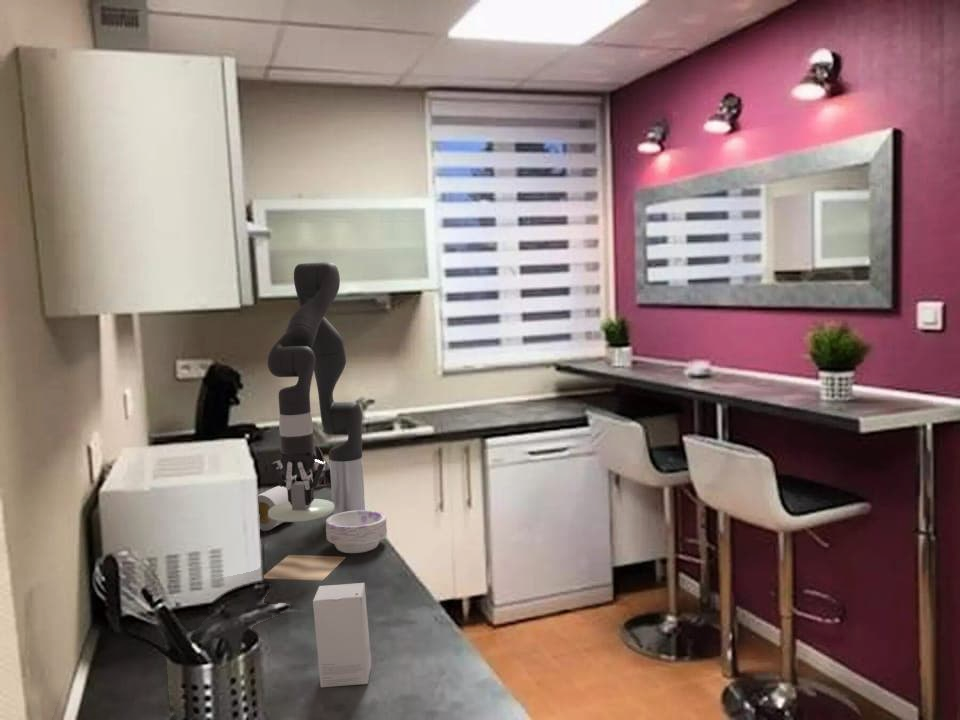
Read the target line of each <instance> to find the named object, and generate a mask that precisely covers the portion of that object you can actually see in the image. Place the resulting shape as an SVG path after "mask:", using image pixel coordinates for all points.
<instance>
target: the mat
mask: <svg viewBox="0 0 960 720" xmlns="http://www.w3.org/2000/svg"><path fill="white" fill-rule="evenodd" d="M346 558H347V557H346V556H335V555H334V556H332V555H331V556H329V555H327V556H326V555H301V554H300V555H299V554H288V555H287V556H286V557H284V558H283V559H282V560H280V562H278V563H277V564H276V565H274V566H273V568H271V569H269V570H268V571H267V572H266V573H265V574H263V576H264V578H263V579H271V580H290V581H291V580H292V581H293V580H296V581H297V580H298V581H319V582H320V581H321V582H322V581H324V580H325V579H326V578H327V577H328V576H329V575H330V574H331V573H332V572H333V571H334V570H335V569H336V568H337V567H338V566H339V565H340V564H341V563H342V562H343V561H344V560H345V559H346Z"/></svg>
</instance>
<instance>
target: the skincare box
mask: <svg viewBox="0 0 960 720" xmlns="http://www.w3.org/2000/svg"><path fill="white" fill-rule="evenodd" d="M365 585H366V584H365V582H360V583H359V582H357V583H345V584H344V583H342V584H331V585H329V584H328V585H319V586H318V588H317V591H316V593H315V596H314V597H313V600H312V607H313V616H314V617H313V618H314V627H315V628H314V629H315V639H316V640H315V641H316V651H317V660H318V661H317V662H318V663H317V664H318V672H319V674H318V675H319V684H320V688H331V687H344V686H345V687H346V686H347V687H348V686H360V685H368V683H369V679H370V677H371V676H370V675H371V674H370V673H371V670H372V656H371V644H370V633H369V619H368V609H367V598H366V597H367V596H366V586H365Z"/></svg>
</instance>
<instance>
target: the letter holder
mask: <svg viewBox="0 0 960 720" xmlns="http://www.w3.org/2000/svg"><path fill="white" fill-rule="evenodd" d="M314 449H315V457H316V460H319V461H321V462H324V461H325V459H324V455H323V451H322V450H321V449H320V446H318V445H316V446H314ZM329 452H330V450H329V451H328V452H327V453H328V455H329ZM328 461H329V464H328V465H330V457H329V456H328ZM311 471H312V475H313V476H312V479H313V480H314V477H315V474H316V471H317V470H316V469H315V470H311ZM327 487H328V488H329V487H331V474H330V468H329V469H325V472H324V475H323V478H322V481H321V483H320V484H319V485H318V486H316V487H314V488H313V489H319V488H327Z"/></svg>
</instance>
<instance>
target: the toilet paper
mask: <svg viewBox="0 0 960 720" xmlns="http://www.w3.org/2000/svg"><path fill="white" fill-rule="evenodd" d="M287 501H288V491H287V488H285V487H283V486H282V487H280V486H279V485H277V486H275V487H273V488H270V489H268V490H266V491H263V492H262V493H260V494H259V493H258V503H259V514H260V527H261V530H260V531H262V532H264V531H265V532H267V531H271V530H272V529H274V528H275V527H277V526H279V525H281V524H283V523H284V522H282V521H276V520H273V519H271V518H269V516H268V510H269V509H270V508H271V507H273V506H275V505H277V504H280V503H284V502H287Z"/></svg>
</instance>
